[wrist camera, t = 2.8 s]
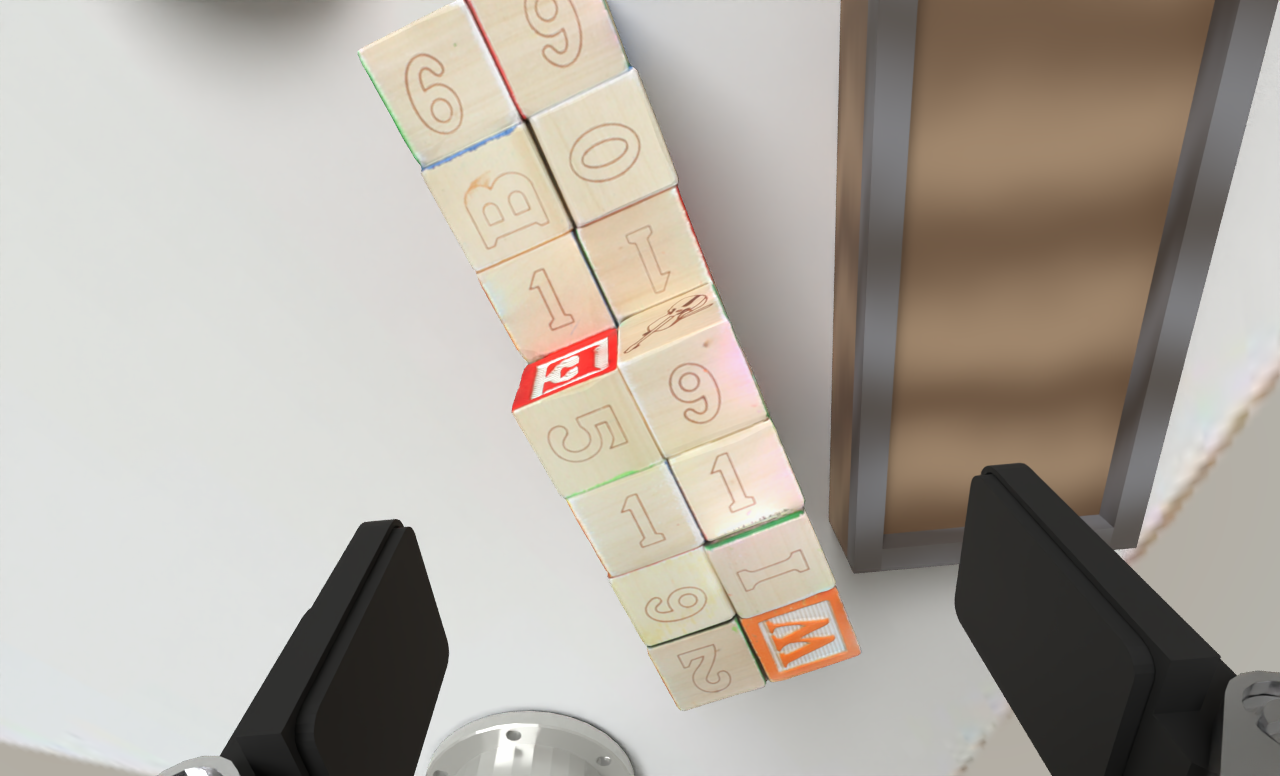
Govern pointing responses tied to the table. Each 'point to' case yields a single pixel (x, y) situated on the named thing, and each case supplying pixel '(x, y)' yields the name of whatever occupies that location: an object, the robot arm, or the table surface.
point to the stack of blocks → (617, 336)
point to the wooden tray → (1021, 250)
